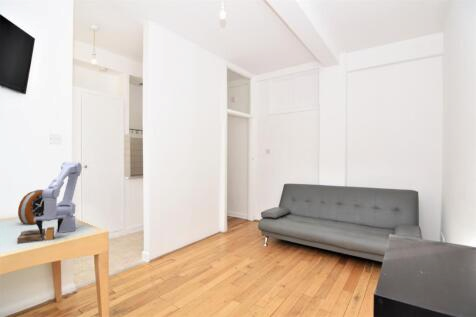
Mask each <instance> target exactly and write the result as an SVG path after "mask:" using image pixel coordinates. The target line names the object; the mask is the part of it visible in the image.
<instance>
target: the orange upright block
mask: <svg viewBox="0 0 476 317" xmlns="http://www.w3.org/2000/svg"><path fill="white" fill-rule="evenodd" d="M54 232H55V226H49V227H46V228H45V241H53V238H54V237H55V233H54Z"/></svg>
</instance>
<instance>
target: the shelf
mask: <svg viewBox="0 0 476 317" xmlns="http://www.w3.org/2000/svg"><path fill="white" fill-rule="evenodd" d="M44 236H46V228H42V234H40V230H39V228H38V229H28V230H27V229H25V230H21V231H20V235H19V236H17V240H16V242H17V245H19V244H25V243H34V242H41V241H42V240H43V238H44Z"/></svg>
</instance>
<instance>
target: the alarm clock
mask: <svg viewBox="0 0 476 317" xmlns="http://www.w3.org/2000/svg"><path fill="white" fill-rule="evenodd" d="M43 190H44V189H35V190H34V191H30V192H28V193H27V194H25V195H24V196H23V197H22V199H21V200H20V202H19V205H18V210H17V215H18V216H17V217H18V219H19V221H20V222H21V224H22V223H23V224H24V225H36V222H34V218H36V217H44V201H43V197H42V192H43ZM46 221H47V222H50V221H51V220H45V221H44V222H46ZM36 226H37V225H36Z"/></svg>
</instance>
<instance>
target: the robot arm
mask: <svg viewBox="0 0 476 317" xmlns="http://www.w3.org/2000/svg"><path fill="white" fill-rule="evenodd" d="M60 169H61V170H60V172H59V174H58V176H57V177H56V178H54V179H53V180H52V181H51V183H50V184H49V185H48V187H47V188H44V189H42V190H43V192H42V197H43V201H44V217H36V218H34V222H36V226H37V228H38V229H39V230H40V234H42V229H43V224H44V223H43V222H46V221H45V220H50V221H55V220H56V221H57V227H56V228H57V229H56V232H55V233H56V234H58V233H66V232H67V233H68V232H75V231H76V227H77V225H76V215H75V213H76V203H74V202H73V197H74V193H75V191H76V186H77V182H78V178H79V177H80V176H81V173H82V169H83V167H82V163H81V162H70V161H68V162H67V161H64V162H62V164H61V165H60ZM66 178H68V179H67V182H66V185H65V190H64V193H63V197H62V200H61V201H59V202H58V197H59V196H60V194H61V193H60V192H61V189H62V187H63V186H64V184H65V179H66ZM57 202H58V203H57Z"/></svg>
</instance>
